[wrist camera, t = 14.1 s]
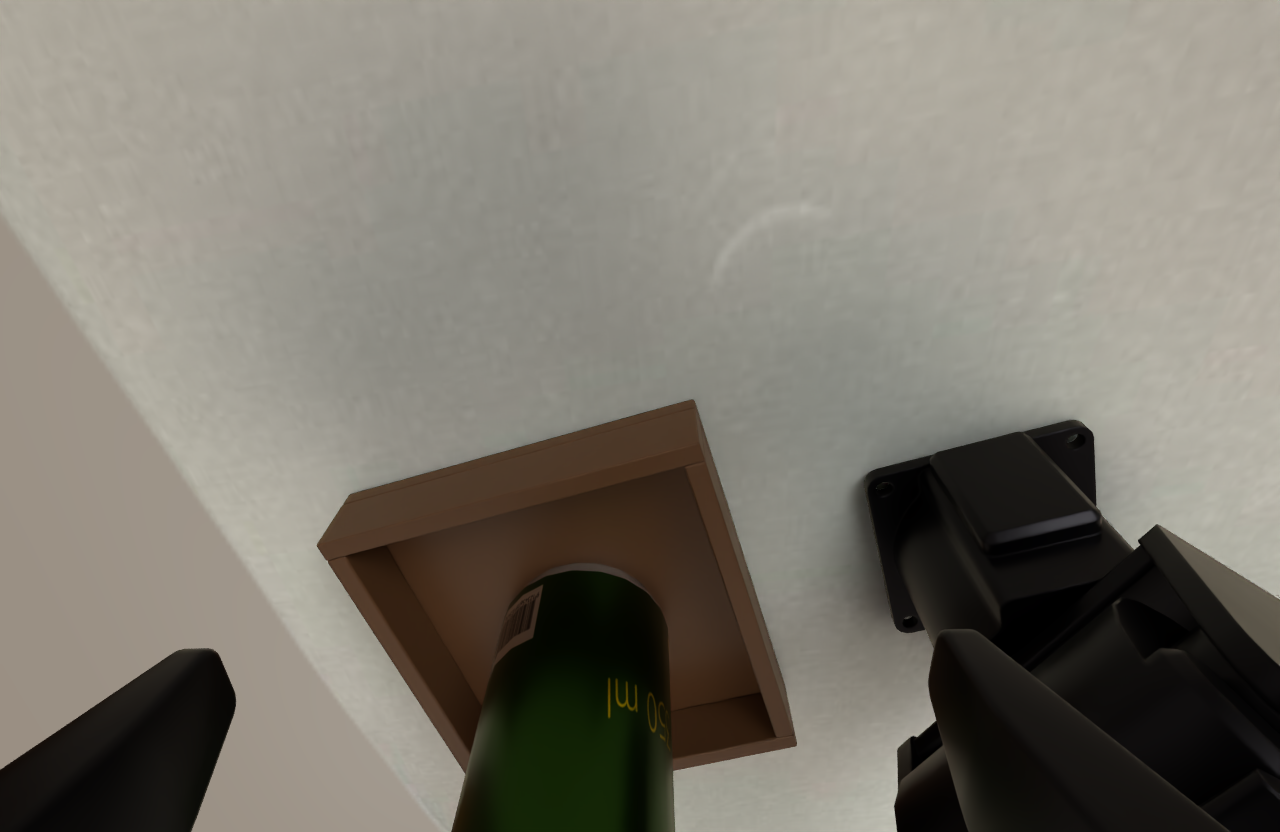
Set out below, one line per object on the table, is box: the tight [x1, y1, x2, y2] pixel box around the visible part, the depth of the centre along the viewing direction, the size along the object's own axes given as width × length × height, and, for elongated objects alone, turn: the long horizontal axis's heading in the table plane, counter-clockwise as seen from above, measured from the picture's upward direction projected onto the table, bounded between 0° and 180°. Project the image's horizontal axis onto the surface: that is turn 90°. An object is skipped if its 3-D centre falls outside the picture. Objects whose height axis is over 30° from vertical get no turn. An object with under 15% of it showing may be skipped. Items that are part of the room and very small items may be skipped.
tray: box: [317, 400, 797, 774], centre depth 24 cm, size 12×11×3 cm
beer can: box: [451, 563, 675, 832], centre depth 19 cm, size 5×5×12 cm
